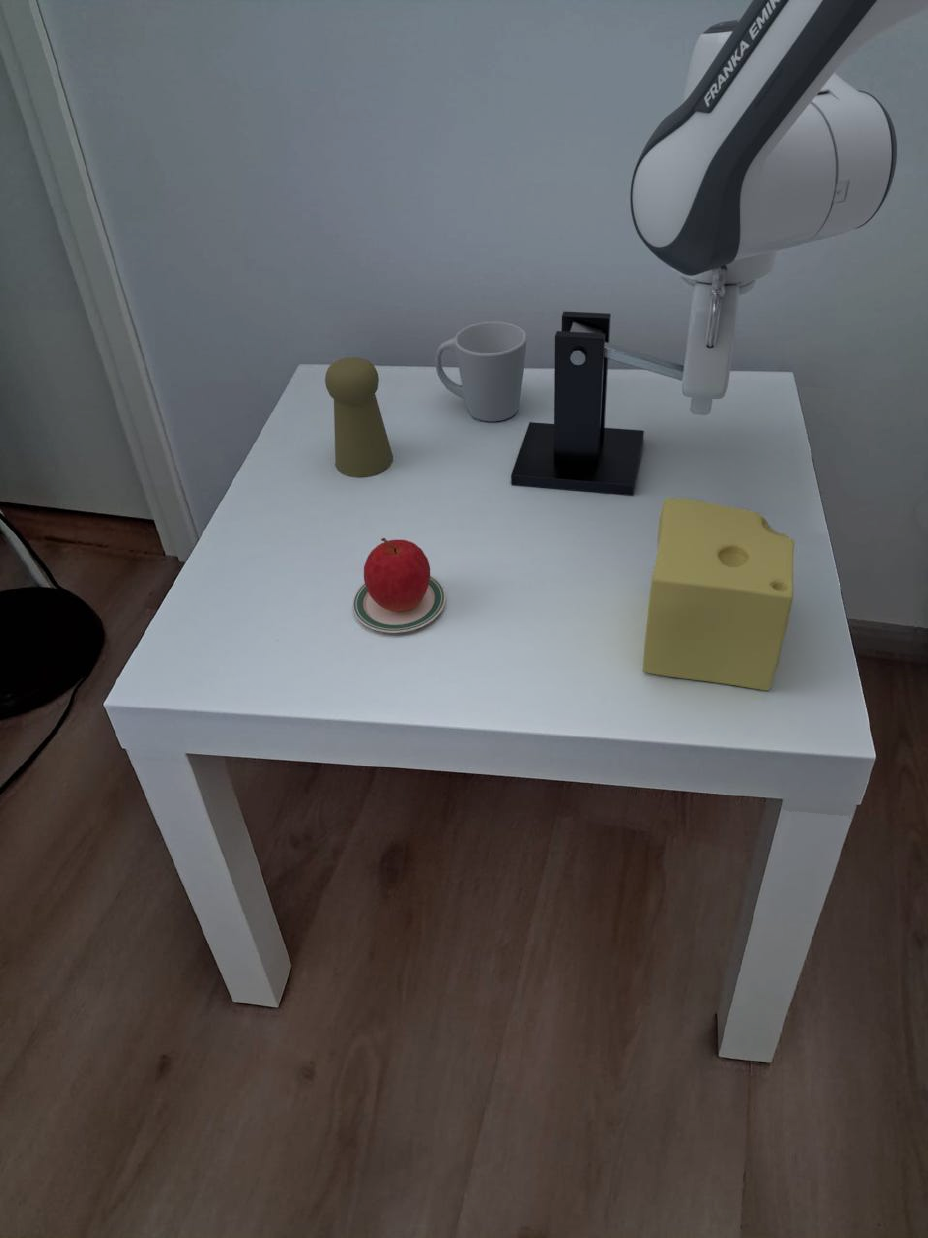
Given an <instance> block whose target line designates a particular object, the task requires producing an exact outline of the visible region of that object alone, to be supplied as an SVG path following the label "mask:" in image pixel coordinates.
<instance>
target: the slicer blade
mask: <svg viewBox="0 0 928 1238" xmlns="http://www.w3.org/2000/svg"><path fill="white" fill-rule="evenodd" d="M570 332H585V333H602V330H599V329H596V328H593V327H590V326H586V325H583V324H580V323H576V322H573V324H572V327H571V330H570ZM604 357H605V358H608V360H612V361H614V362H615V361H616V362H619V363H622V364H625V365H628V366H632V367H634V368H635V367H636V368H638V369H642V370H645V371H648V372H650V373H651V372H652V373H655V374H658V375H660V376H661V375H662V376H665V377H668V378H671V379H675V380H677V381H681V382H682V379H683V370H684V364H679V363H676V362H674V361H670V360H667V359H663V358H660V357H658V356H653V355H650V354H646V353H644V352H640V351H637V350H633V349H631V348H627V347H624V346H621V345H617V344H613V343H611V342H609V343H607V342H605V349H604Z"/></svg>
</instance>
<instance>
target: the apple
mask: <svg viewBox="0 0 928 1238" xmlns="http://www.w3.org/2000/svg"><path fill="white" fill-rule="evenodd" d="M380 541H382V542H381V543H380V544H378V545H377V546H376V547H374V548H373V549H372V550H371V551H370V552H369V554H368V556H367V558H366V560H365V562H364V564H363V583H362V584H361V585H360V586H359V587H358V589H357V590H356V592H355V593H354V596H353V599H352V610H353V613H354V616H355V617H356V619H357V620H358V621H359V622H360V623H361V624H363V625H364V626H365V627H367V628H369V629H371V630H374V631H376V632H377V631H378V632H382V633H387V634H388V633H389V634H395V633H396V634H398V633H399V634H400V633H407V632H411V631H415V630H417V629H421V628H422V627H425V626H427V625H428V624H430V623H432V622H433V621H434V620H436V619H437V617H438V616H439V615H440V614H441V613H442V611H443V609H444V607H445V605H446V598H447V597H446V591H445V588H444V586H443V584H442V583H441V582H440V581H439V580H438V579H437V578H435V577H434V576H432V575H431V565H430V562H429V559H428V557H427V556H426V554H425V553H424V551H423V550H422V548H421V547H419V546H418V545H417V544H416V543H415V542H412V541H409V540H407V539H389V540H387V539H386V537H382V538H380Z"/></svg>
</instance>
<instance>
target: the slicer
mask: <svg viewBox="0 0 928 1238" xmlns="http://www.w3.org/2000/svg"><path fill="white" fill-rule="evenodd" d="M611 315H612V314H611V313H605V312H603V313H602V312H588V311H587V312H583V311H567V310H566V311H565V310H564V311H562V315H561V330H556V331H555V334H554V375H553V377H554V379H553V381H554V383H553V386H554V387H553V389H554V391H553V392H554V393H553V398H554V399H553V404H554V405H553V423H549V422H547V423H546V422H536V421H535V422H533V421H529V423H528V426H527V428H526V431H525V433H524V437H523V439H522V443H521V445H520V448H519V451H518V455H517V458H516V460H515V463H514V466H513V468H512V470H511V471H512V472H511V474H510V482H511V483H510V484H511V486H521V487H531V488H532V487H533V488H542V489H543V488H544V489H554V490H564V491H566V490H567V491H577V492H588V493H599V494H609V495H621V496H632V497H633V496H634V494H635V489H636V484H637V483H636V482H637V478H638V477H637V476H638V471H639V466H640V461H641V455H642V450H643V445H644V437H645V431H644V430H642V429H629V428H615V427H606V414H607V412H606V411H607V393H608V373H609V359H608V358H605V357H604V349H605V342H607V343H610V334H611V318H612V317H611ZM573 322H576V323H580V324H583V325H586V326H590V327H593V328H596V329H599V330H602V333H585V332H570V330H571V327H572V324H573Z"/></svg>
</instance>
